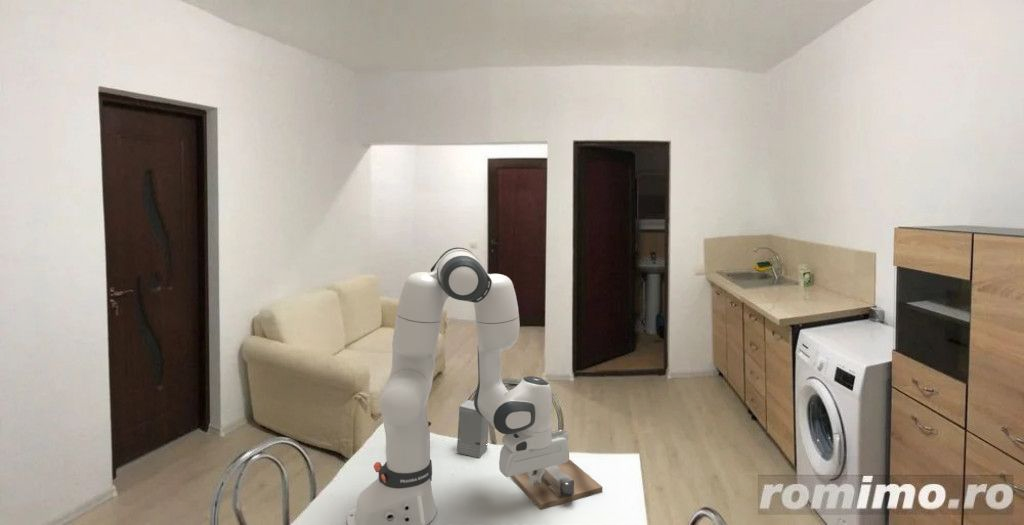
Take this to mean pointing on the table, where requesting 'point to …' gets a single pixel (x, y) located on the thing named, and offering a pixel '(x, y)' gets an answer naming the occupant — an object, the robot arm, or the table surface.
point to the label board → (548, 495)
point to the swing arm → (559, 480)
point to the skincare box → (471, 431)
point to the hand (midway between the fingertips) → (534, 483)
